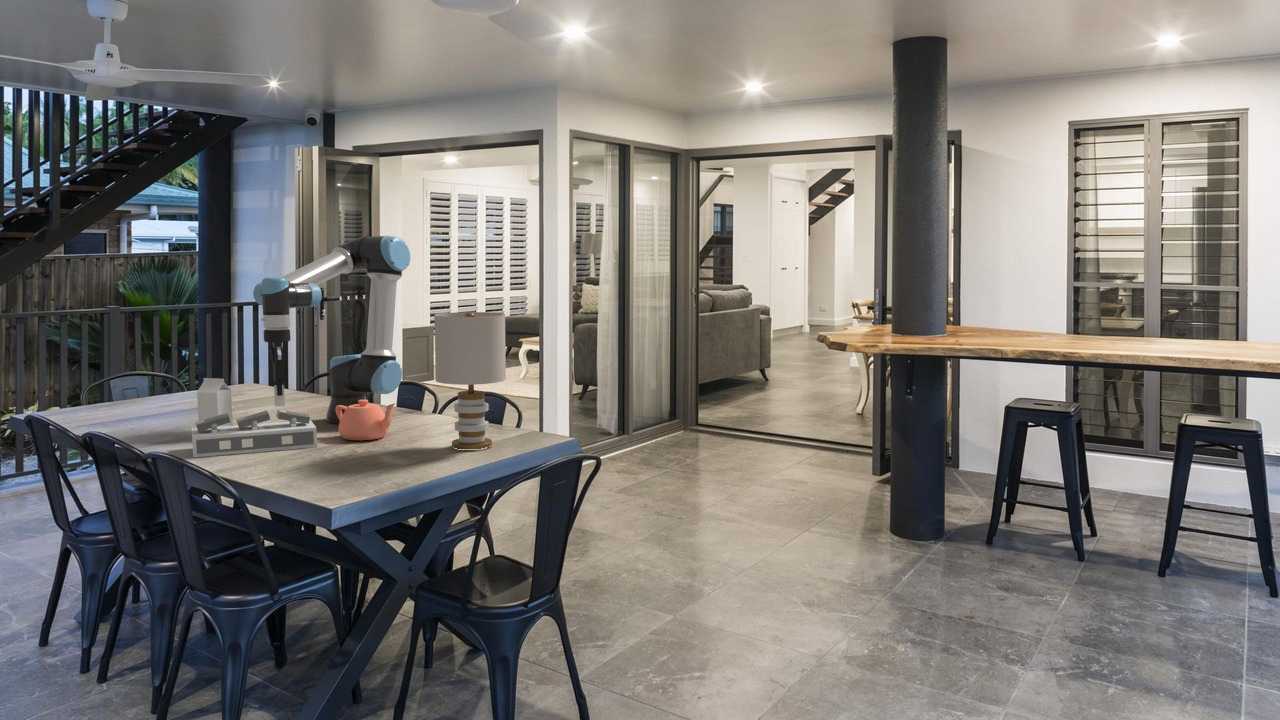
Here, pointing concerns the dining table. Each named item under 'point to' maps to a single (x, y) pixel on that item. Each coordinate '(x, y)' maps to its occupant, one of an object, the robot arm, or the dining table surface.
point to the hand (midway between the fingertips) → (279, 405)
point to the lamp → (470, 367)
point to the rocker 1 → (213, 422)
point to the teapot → (363, 421)
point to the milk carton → (214, 400)
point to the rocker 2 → (293, 416)
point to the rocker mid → (253, 419)
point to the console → (253, 438)
